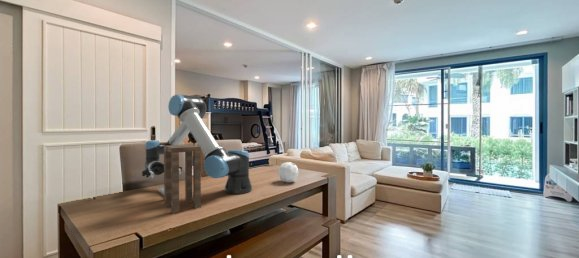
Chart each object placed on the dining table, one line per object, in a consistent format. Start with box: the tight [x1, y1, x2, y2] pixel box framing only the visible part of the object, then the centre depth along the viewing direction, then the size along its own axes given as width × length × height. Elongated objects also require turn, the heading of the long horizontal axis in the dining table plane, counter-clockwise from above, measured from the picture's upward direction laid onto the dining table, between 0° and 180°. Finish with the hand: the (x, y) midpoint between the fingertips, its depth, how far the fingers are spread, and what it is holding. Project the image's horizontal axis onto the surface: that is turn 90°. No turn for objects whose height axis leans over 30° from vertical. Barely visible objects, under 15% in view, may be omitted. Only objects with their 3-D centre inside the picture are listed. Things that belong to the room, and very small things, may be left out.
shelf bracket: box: [158, 186, 164, 196], centre depth 133 cm, size 20×3×10 cm, turn 42°
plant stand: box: [163, 143, 202, 214], centre depth 115 cm, size 13×12×28 cm
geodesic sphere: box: [277, 161, 299, 184], centre depth 163 cm, size 14×14×14 cm
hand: (167, 173), depth 133 cm, fingers open, 13 cm apart
